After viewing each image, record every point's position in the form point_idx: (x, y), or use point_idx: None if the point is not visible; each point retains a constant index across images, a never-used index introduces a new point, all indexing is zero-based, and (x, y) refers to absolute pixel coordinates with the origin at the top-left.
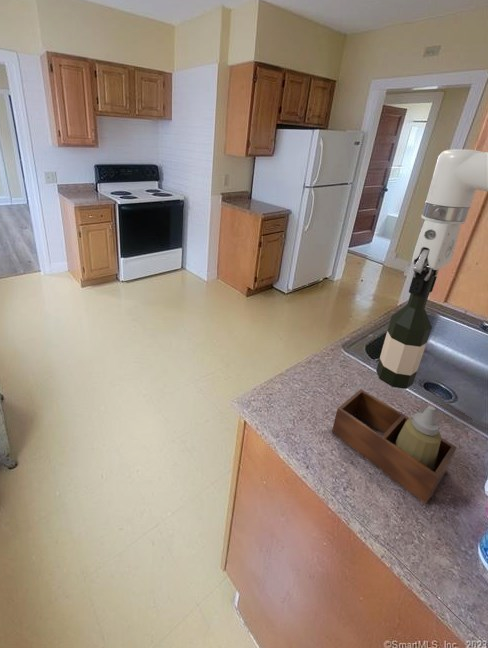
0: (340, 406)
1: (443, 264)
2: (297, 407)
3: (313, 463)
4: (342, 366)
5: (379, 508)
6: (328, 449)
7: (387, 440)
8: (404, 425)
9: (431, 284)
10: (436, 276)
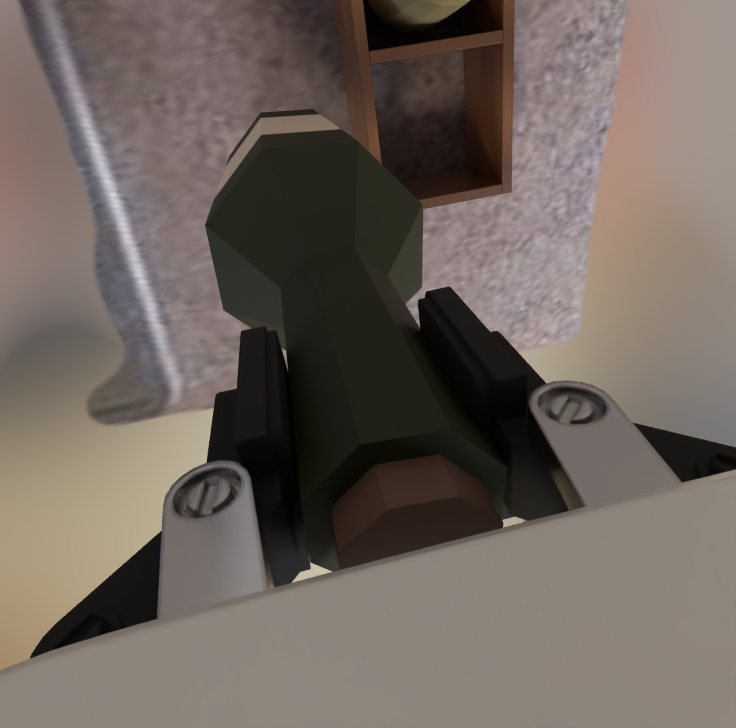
0: (497, 193)
1: (605, 573)
2: (480, 275)
3: (585, 129)
4: (238, 343)
5: None
6: (525, 140)
7: (506, 20)
8: (465, 2)
9: (359, 363)
10: (239, 444)
